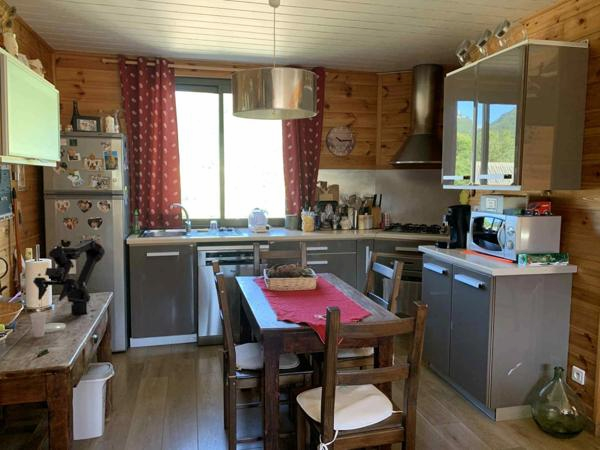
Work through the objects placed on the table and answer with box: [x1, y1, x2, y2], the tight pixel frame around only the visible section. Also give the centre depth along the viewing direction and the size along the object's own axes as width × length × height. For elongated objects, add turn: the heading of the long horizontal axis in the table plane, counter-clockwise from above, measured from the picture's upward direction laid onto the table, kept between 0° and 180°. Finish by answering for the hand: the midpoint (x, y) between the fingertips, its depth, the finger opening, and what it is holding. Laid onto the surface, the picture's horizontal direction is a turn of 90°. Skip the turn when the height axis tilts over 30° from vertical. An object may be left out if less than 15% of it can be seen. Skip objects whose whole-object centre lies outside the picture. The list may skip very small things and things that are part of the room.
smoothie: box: [29, 303, 48, 338], centre depth 200 cm, size 6×6×14 cm
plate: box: [44, 322, 67, 334], centre depth 210 cm, size 11×11×1 cm
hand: (49, 299), depth 207 cm, fingers open, 9 cm apart
